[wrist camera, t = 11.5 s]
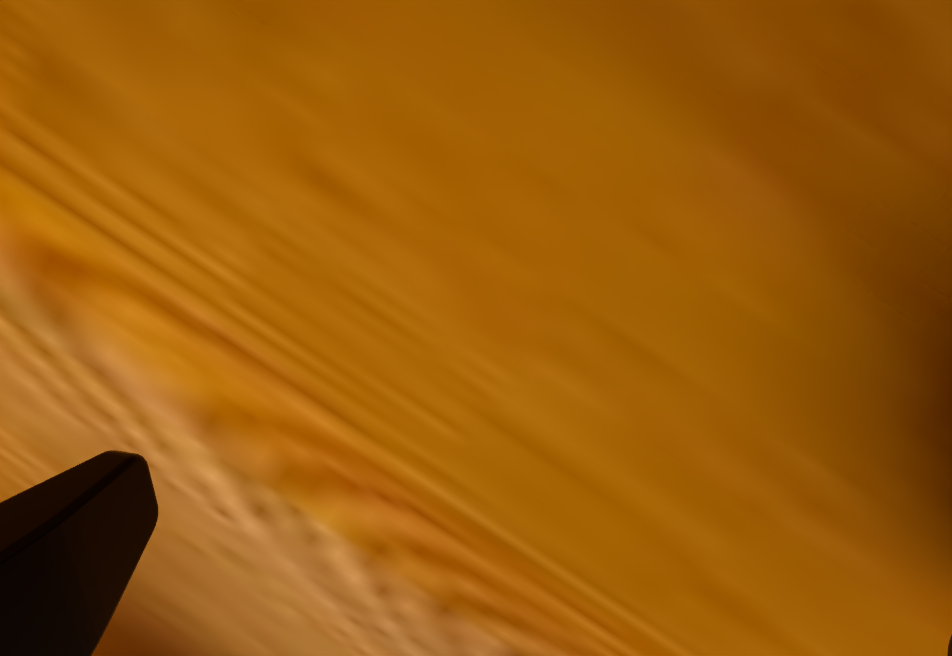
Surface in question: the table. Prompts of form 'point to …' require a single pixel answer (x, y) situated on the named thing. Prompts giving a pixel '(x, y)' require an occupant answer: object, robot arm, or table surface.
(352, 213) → the table surface
